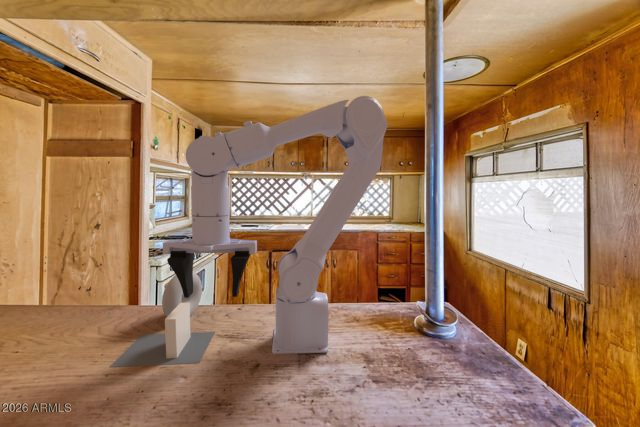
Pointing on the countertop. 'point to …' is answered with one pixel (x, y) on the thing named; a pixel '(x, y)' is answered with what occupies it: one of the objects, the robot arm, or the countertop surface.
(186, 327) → the tile
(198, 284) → the donut
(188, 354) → the mat
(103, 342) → the countertop surface
